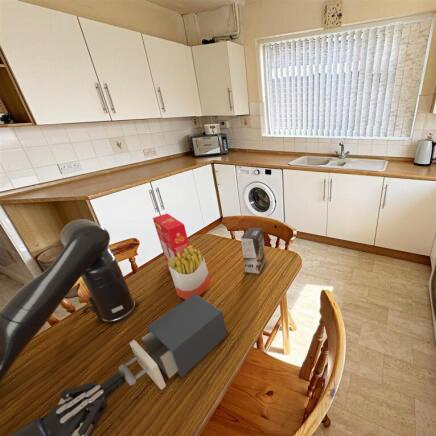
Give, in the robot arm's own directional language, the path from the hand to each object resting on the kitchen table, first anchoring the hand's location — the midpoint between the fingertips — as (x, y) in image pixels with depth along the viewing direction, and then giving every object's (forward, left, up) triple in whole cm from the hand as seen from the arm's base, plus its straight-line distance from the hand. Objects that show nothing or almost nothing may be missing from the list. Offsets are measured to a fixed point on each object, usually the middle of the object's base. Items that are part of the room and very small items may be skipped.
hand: (123, 376), depth 54 cm
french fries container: (+8, +32, -7) cm, 34 cm away
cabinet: (+11, +11, -7) cm, 17 cm away
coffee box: (+30, +44, -7) cm, 54 cm away
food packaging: (+1, +43, -7) cm, 44 cm away
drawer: (+6, +6, -6) cm, 11 cm away
